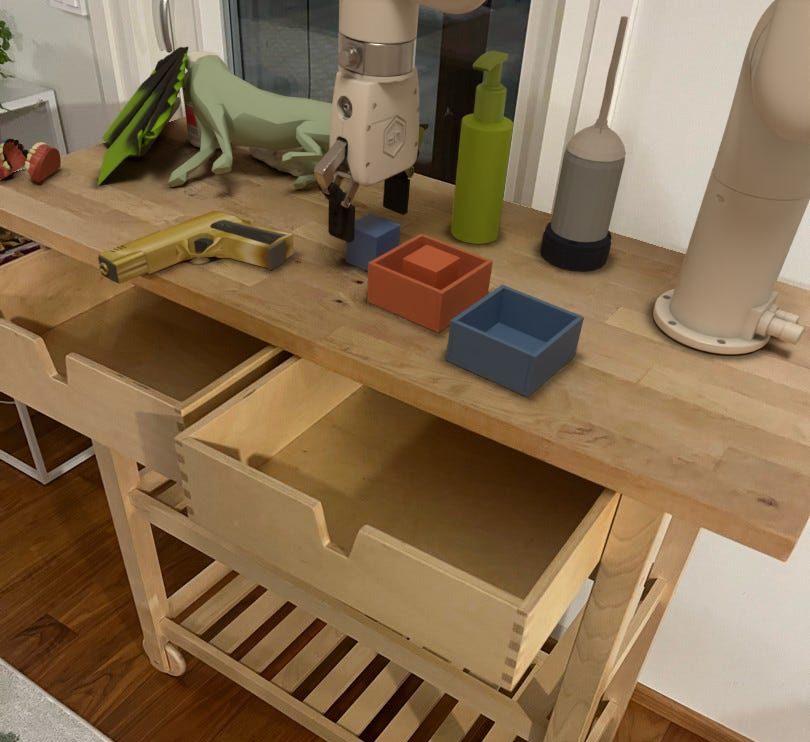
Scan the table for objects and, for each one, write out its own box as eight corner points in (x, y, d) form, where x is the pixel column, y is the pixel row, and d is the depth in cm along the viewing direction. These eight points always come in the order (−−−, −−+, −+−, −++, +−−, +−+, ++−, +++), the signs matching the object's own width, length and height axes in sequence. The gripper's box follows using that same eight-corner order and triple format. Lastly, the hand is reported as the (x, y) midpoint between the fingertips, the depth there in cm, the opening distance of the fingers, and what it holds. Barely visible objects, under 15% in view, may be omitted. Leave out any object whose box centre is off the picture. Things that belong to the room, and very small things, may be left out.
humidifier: (607, 244, 103) (663, 12, 85) (606, 275, 97) (666, 33, 79) (542, 235, 103) (584, 3, 86) (537, 265, 98) (581, 23, 80)
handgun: (299, 236, 94) (228, 203, 99) (164, 294, 83) (92, 253, 88) (299, 257, 96) (230, 223, 101) (168, 316, 85) (97, 275, 90)
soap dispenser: (439, 239, 101) (455, 56, 87) (462, 218, 105) (482, 41, 91) (482, 251, 99) (506, 67, 85) (505, 230, 104) (531, 52, 90)
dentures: (37, 147, 102) (-21, 144, 103) (47, 183, 104) (-9, 179, 106) (61, 134, 106) (5, 132, 107) (70, 169, 109) (16, 166, 110)
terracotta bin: (487, 298, 91) (493, 260, 88) (438, 333, 86) (442, 293, 83) (418, 270, 95) (421, 232, 92) (367, 301, 90) (367, 262, 86)
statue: (373, 204, 116) (349, 70, 117) (378, 150, 103) (351, 2, 105) (180, 227, 113) (158, 90, 115) (160, 176, 100) (137, 22, 102)
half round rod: (156, 106, 126) (163, 117, 128) (121, 150, 112) (130, 162, 113) (179, 93, 125) (186, 105, 126) (147, 136, 111) (155, 148, 112)
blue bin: (575, 356, 84) (584, 316, 81) (527, 397, 79) (535, 357, 75) (496, 323, 88) (502, 284, 85) (445, 360, 82) (450, 320, 79)
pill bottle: (238, 137, 120) (231, 51, 112) (225, 152, 116) (217, 65, 108) (196, 132, 121) (187, 47, 113) (182, 147, 116) (171, 59, 108)
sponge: (243, 151, 115) (254, 122, 114) (266, 163, 119) (277, 134, 118) (301, 183, 110) (313, 152, 109) (323, 194, 114) (335, 164, 113)
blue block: (398, 261, 96) (400, 224, 93) (375, 274, 94) (376, 237, 91) (369, 249, 98) (370, 212, 95) (345, 262, 96) (345, 225, 92)
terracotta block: (456, 295, 91) (460, 257, 87) (433, 310, 88) (436, 272, 85) (423, 282, 92) (426, 244, 89) (400, 296, 90) (402, 258, 87)
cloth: (165, 46, 115) (179, 59, 117) (75, 175, 116) (90, 187, 118) (214, 41, 100) (229, 57, 101) (110, 190, 101) (127, 203, 102)
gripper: (350, 83, 74) (345, 261, 86) (457, 47, 85) (440, 211, 97) (288, 62, 77) (292, 237, 89) (399, 29, 87) (389, 191, 100)
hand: (368, 223), depth 93 cm, fingers open, 9 cm apart
